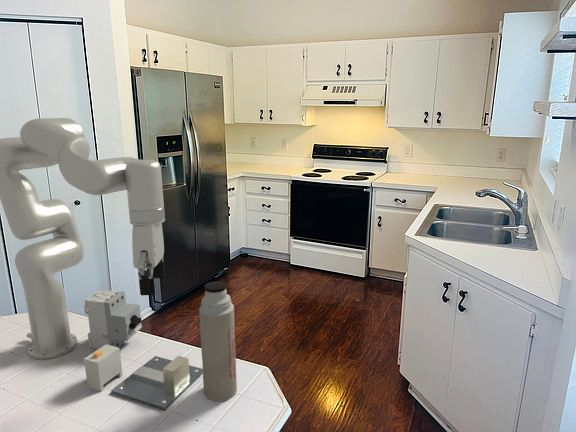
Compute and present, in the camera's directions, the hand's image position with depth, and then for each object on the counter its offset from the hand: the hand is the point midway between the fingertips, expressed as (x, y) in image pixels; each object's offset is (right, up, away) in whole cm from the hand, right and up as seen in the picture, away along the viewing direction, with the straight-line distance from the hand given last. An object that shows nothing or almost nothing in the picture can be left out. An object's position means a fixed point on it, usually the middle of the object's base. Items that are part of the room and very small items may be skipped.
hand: (153, 285), depth 99 cm
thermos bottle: (+15, -27, +4) cm, 31 cm away
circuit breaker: (-18, -21, +25) cm, 38 cm away
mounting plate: (-1, -26, +7) cm, 27 cm away
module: (-15, -26, +8) cm, 31 cm away
